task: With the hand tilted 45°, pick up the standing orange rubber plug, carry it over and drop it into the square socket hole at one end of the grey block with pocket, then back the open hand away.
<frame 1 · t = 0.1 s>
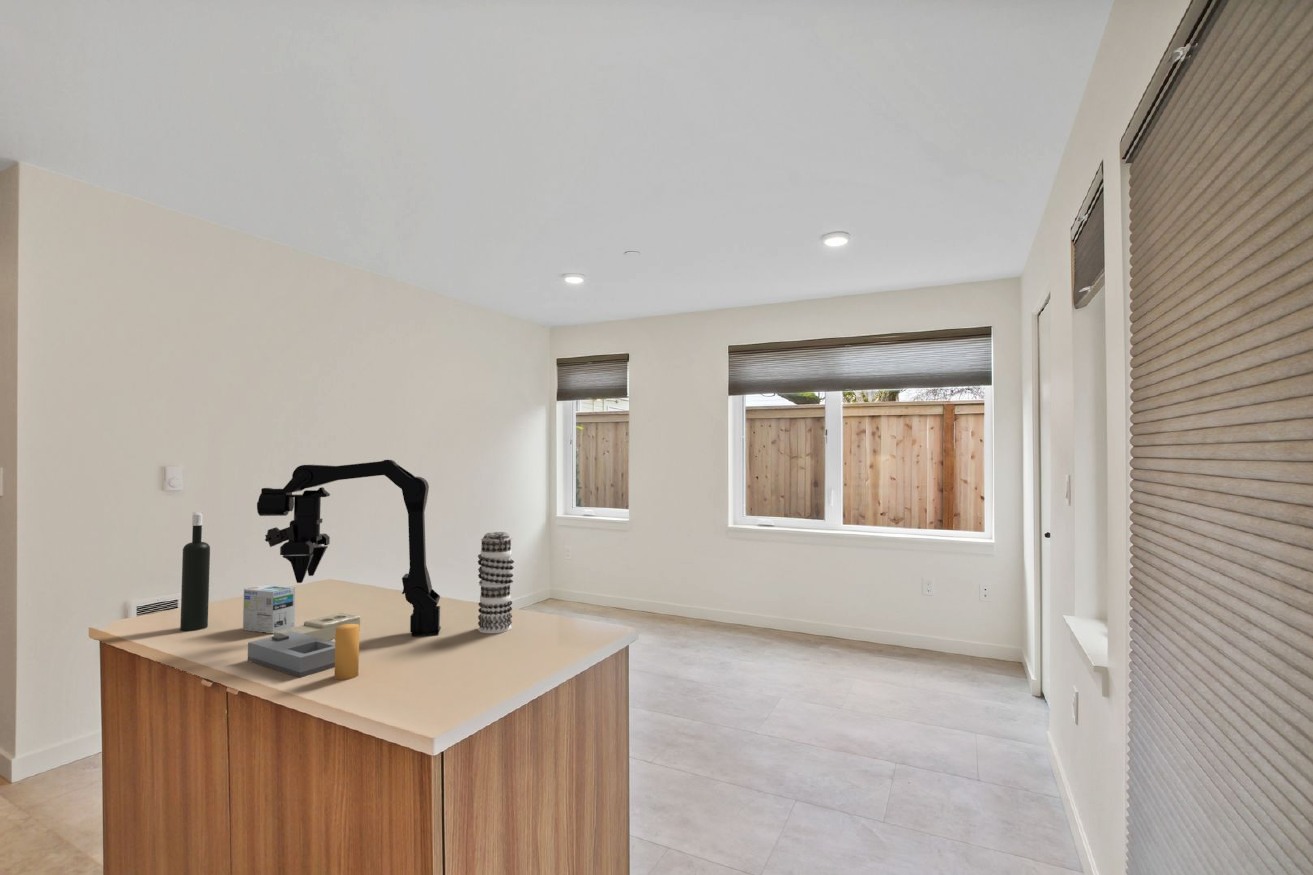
hand: (305, 579, 154), 15 cm above the table, tool pointing down, fingers open, 9 cm apart
decorative candle: (494, 629, 165), on the table
orange plug: (346, 676, 129), on the table
wine bottle: (194, 628, 163), on the table
grey block with pocket: (296, 662, 137), on the table
light bulb box: (268, 630, 163), on the table
electrical outlet: (318, 639, 155), on the table, touching grey block with pocket
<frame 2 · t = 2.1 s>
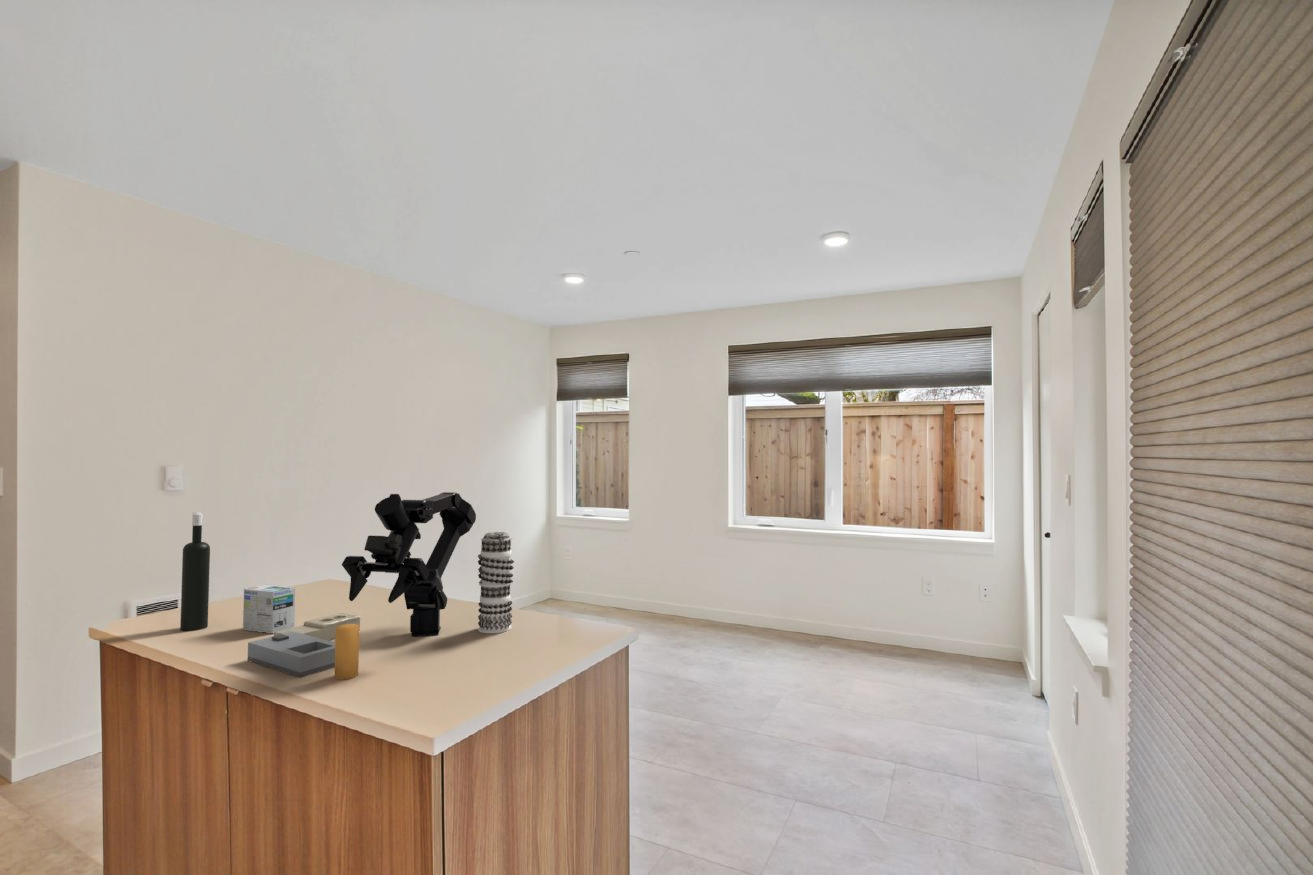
hand: (369, 601, 137), 14 cm above the table, tool tilted 45°, fingers open, 9 cm apart
nothing on the table moved.
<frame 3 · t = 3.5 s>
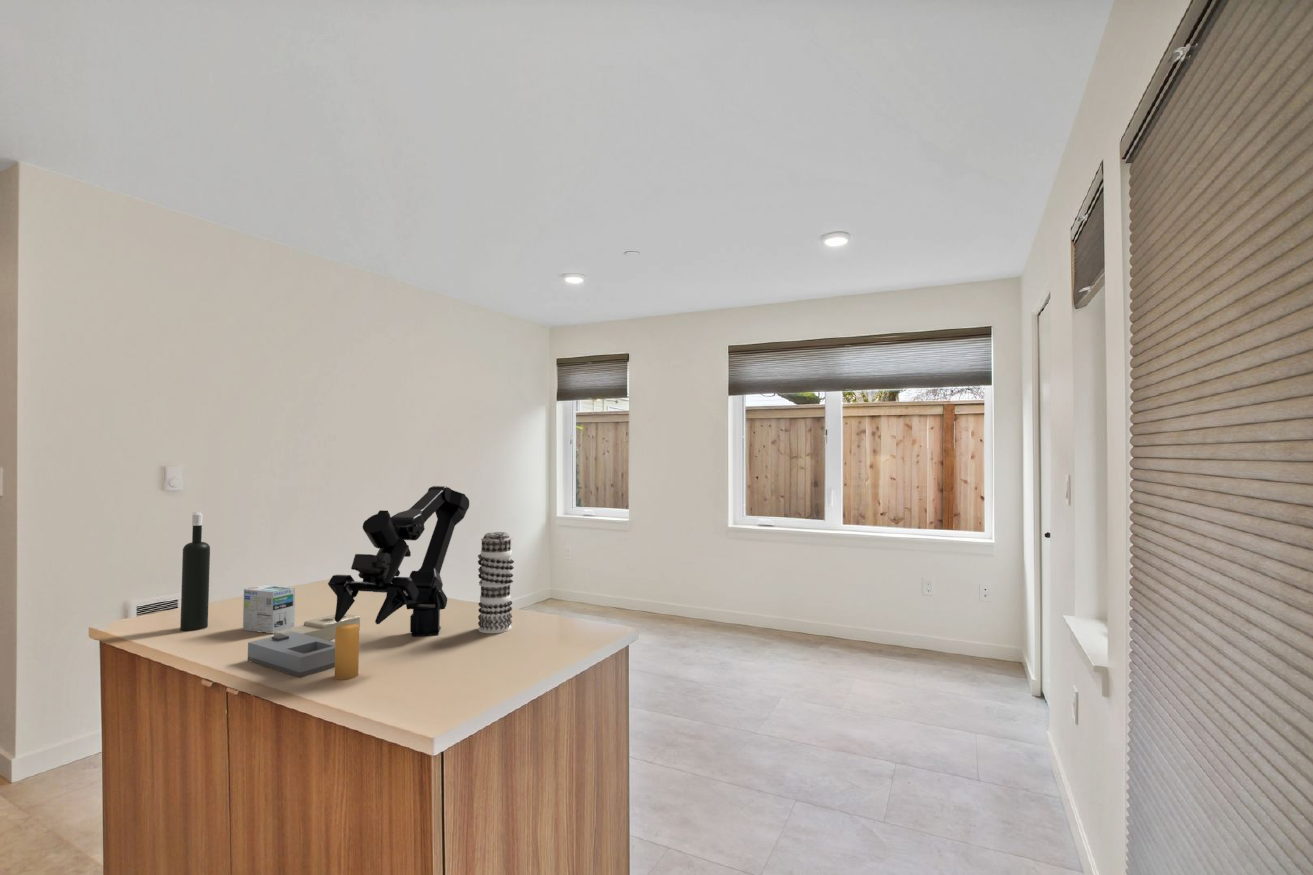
hand: (356, 622, 132), 10 cm above the table, tool tilted 45°, fingers open, 9 cm apart
nothing on the table moved.
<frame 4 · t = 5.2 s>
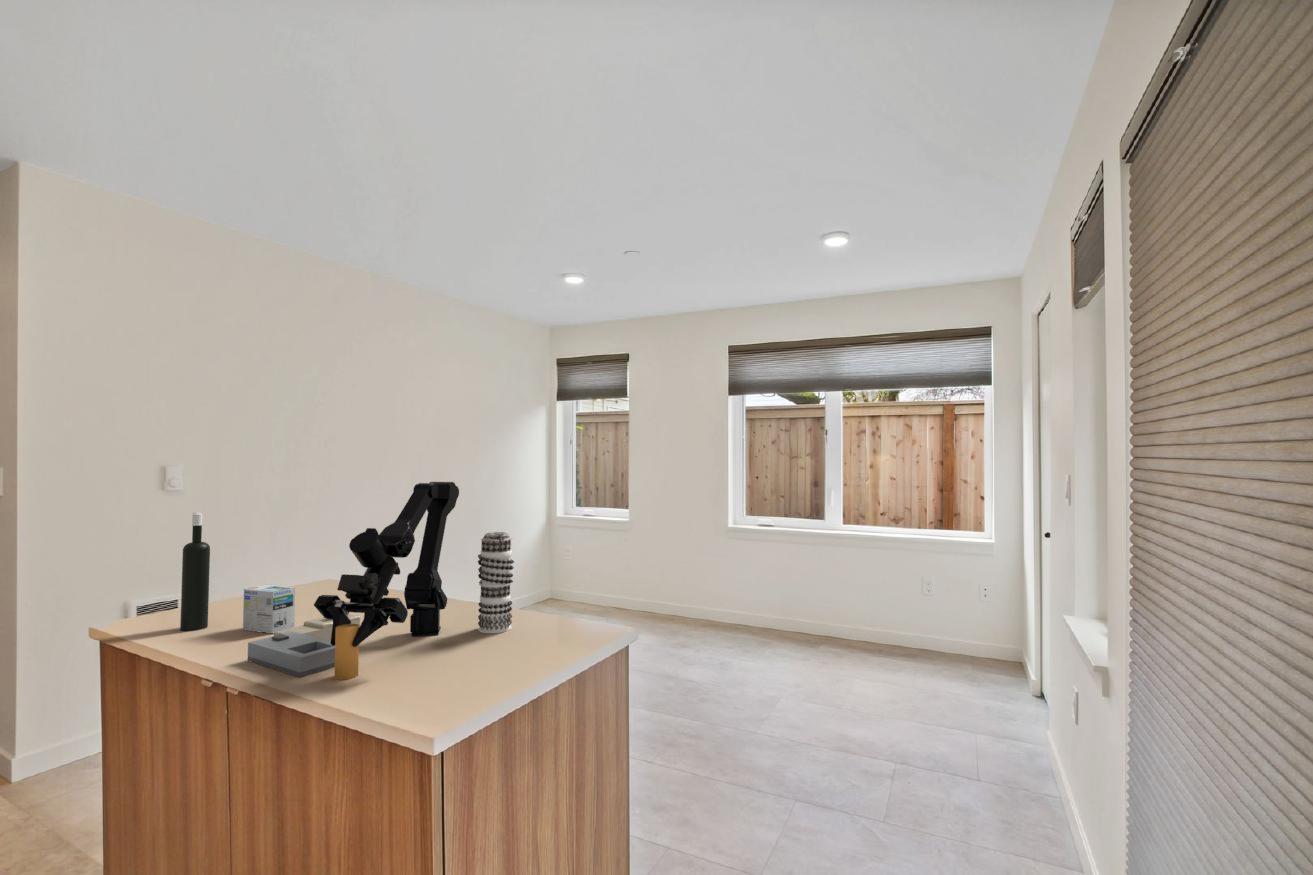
hand: (342, 645, 127), 7 cm above the table, tool tilted 45°, fingers closed on orange plug, 4 cm apart
orange plug: (346, 675, 129), on the table, touching gripper
everything else where it was.
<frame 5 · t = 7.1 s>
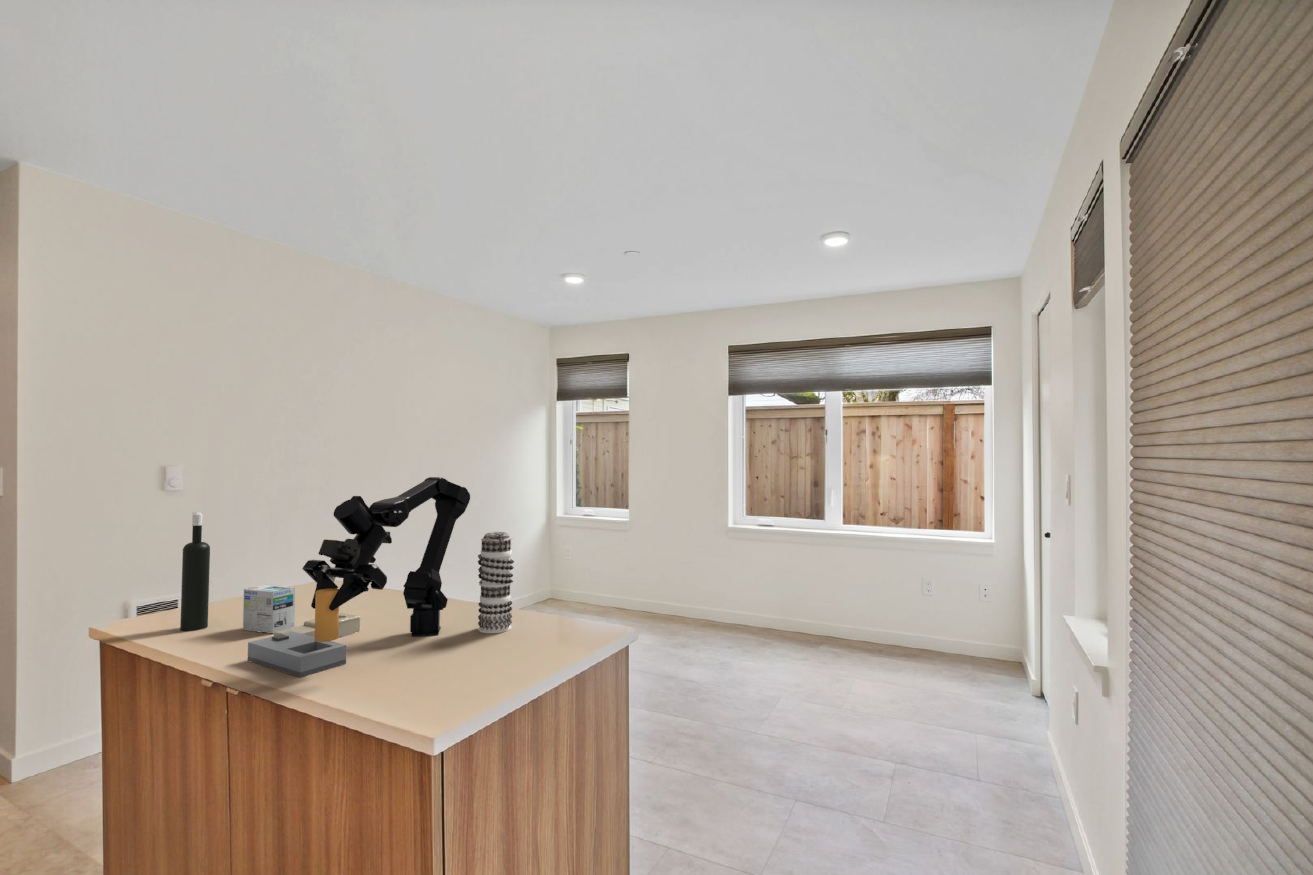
hand: (321, 608, 130), 13 cm above the table, tool tilted 45°, fingers closed on orange plug, 4 cm apart
orange plug: (326, 638, 131), point 7 cm above the table, touching gripper
everything else where it was.
when the fingers open (9 cm above the table, at t = 9.1 s): orange plug drops 1 cm, resting on grey block with pocket.
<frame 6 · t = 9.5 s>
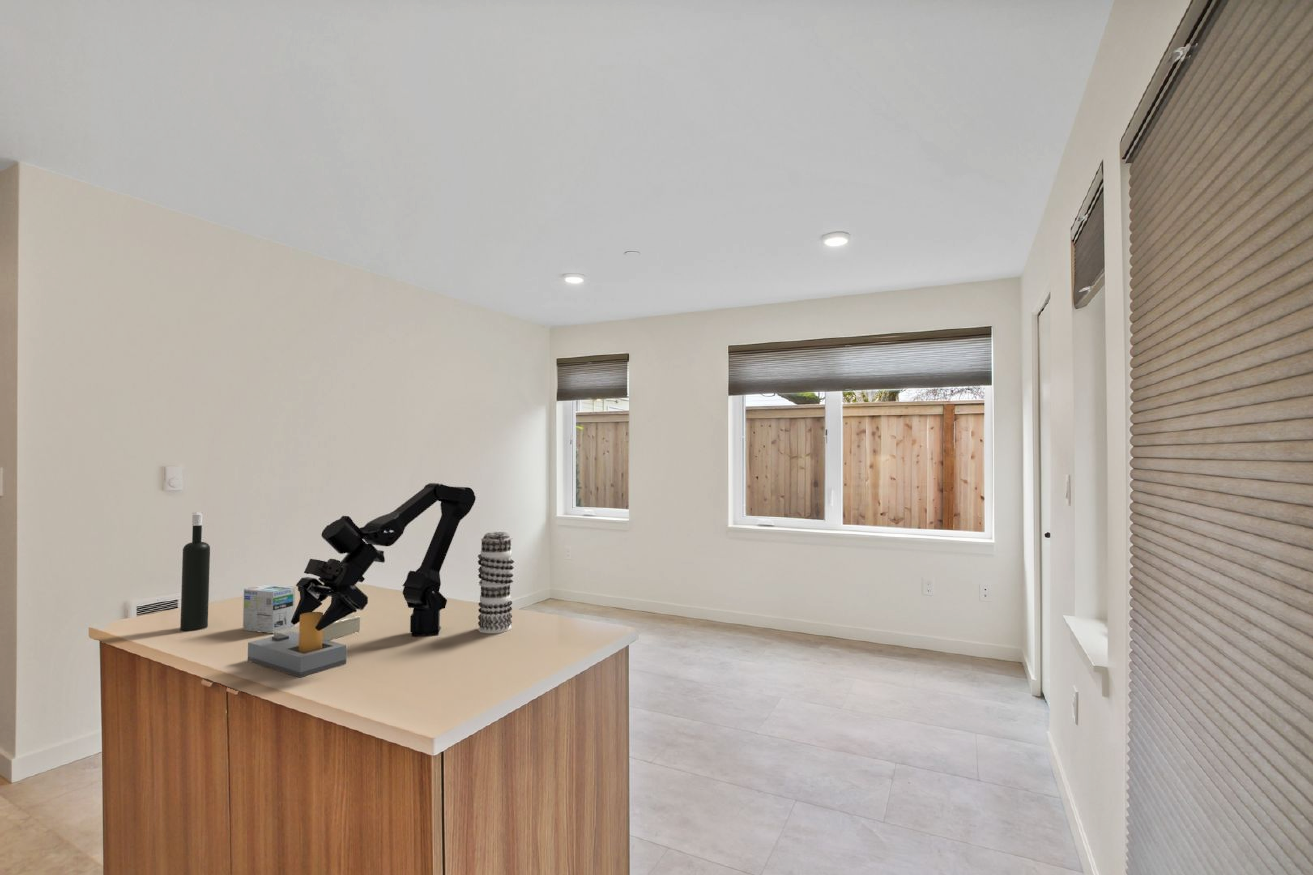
hand: (304, 626, 133), 9 cm above the table, tool tilted 45°, fingers open, 9 cm apart
orange plug: (310, 661, 134), point 1 cm above the table, touching grey block with pocket
everything else where it was.
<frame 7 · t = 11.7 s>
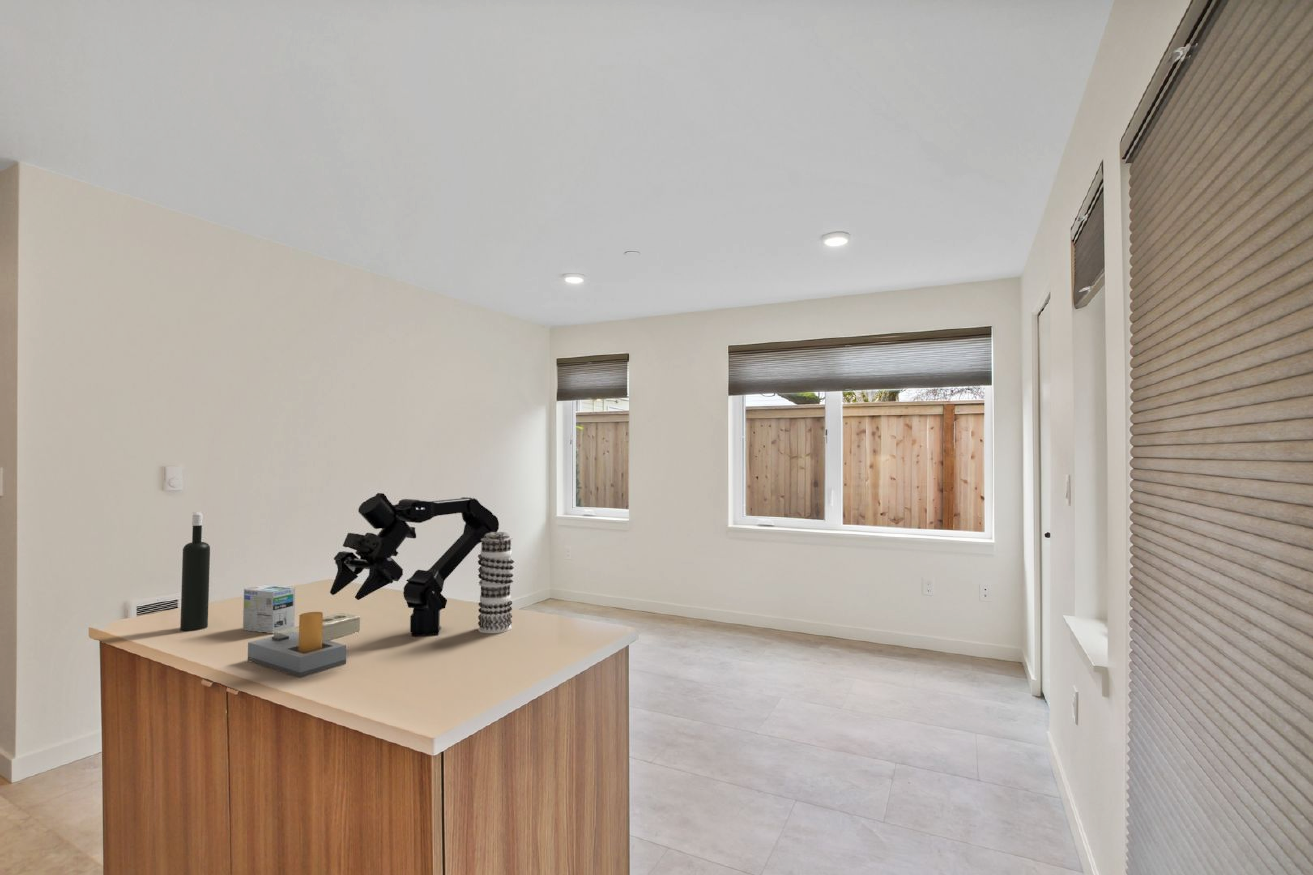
hand: (343, 596, 141), 13 cm above the table, tool tilted 45°, fingers open, 9 cm apart
nothing on the table moved.
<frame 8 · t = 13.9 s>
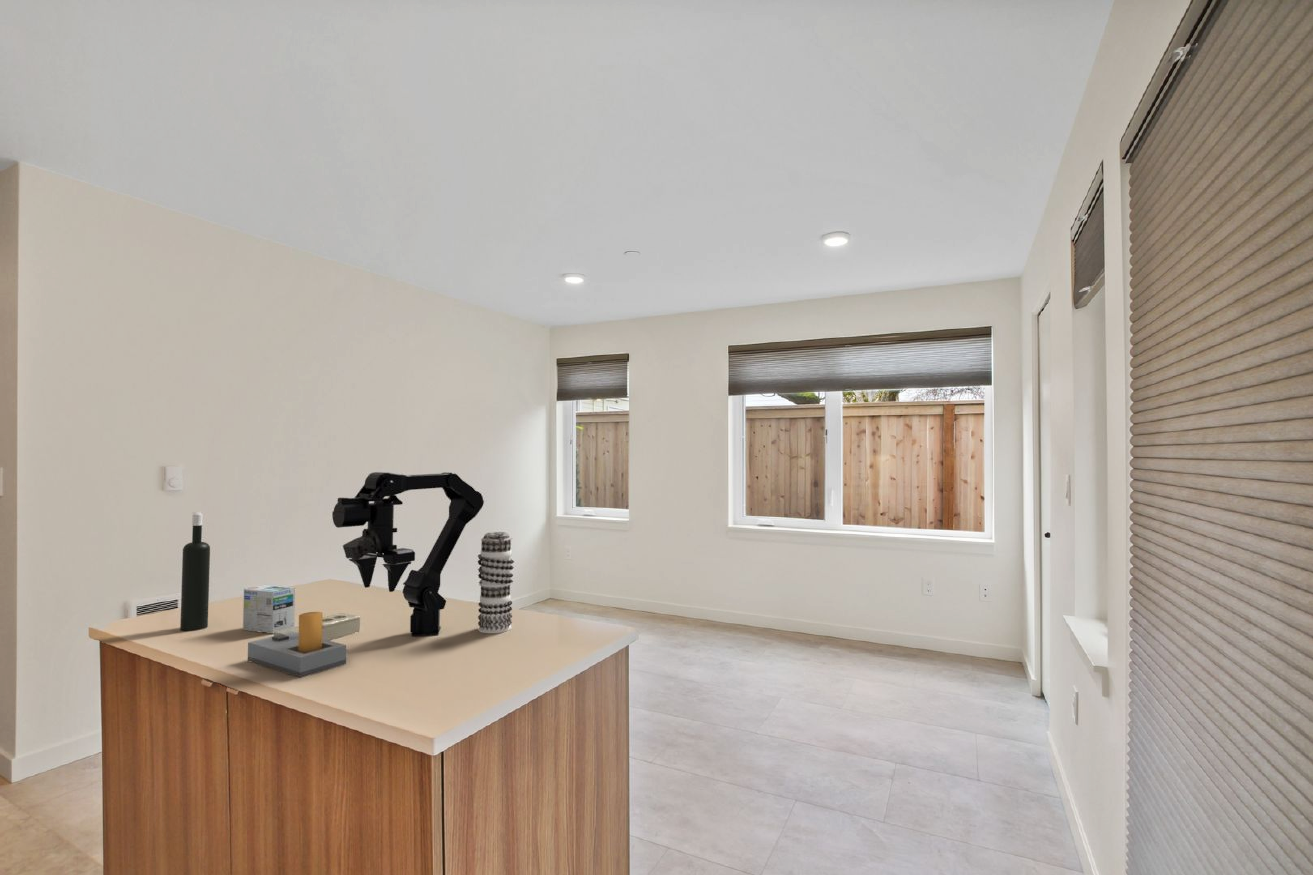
hand: (379, 589, 151), 13 cm above the table, tool pointing down, fingers open, 9 cm apart
nothing on the table moved.
at the end: orange plug 0.1 cm from the target spot, point 1.0 cm above the table; orange plug tilted 1°; the gripper is holding nothing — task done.
